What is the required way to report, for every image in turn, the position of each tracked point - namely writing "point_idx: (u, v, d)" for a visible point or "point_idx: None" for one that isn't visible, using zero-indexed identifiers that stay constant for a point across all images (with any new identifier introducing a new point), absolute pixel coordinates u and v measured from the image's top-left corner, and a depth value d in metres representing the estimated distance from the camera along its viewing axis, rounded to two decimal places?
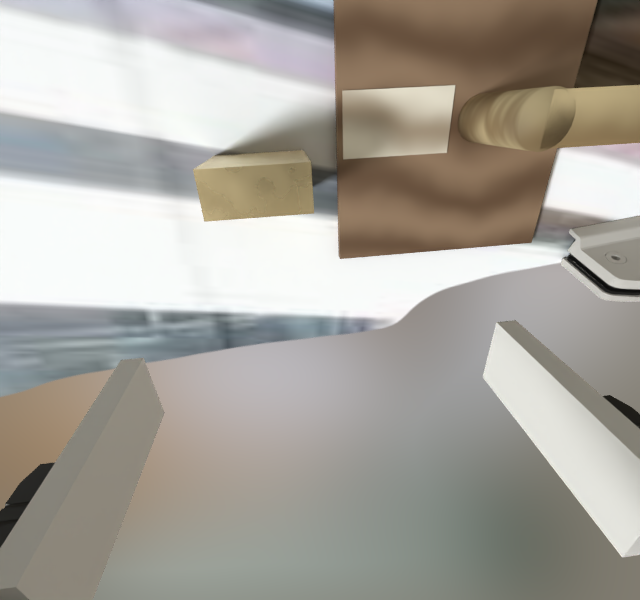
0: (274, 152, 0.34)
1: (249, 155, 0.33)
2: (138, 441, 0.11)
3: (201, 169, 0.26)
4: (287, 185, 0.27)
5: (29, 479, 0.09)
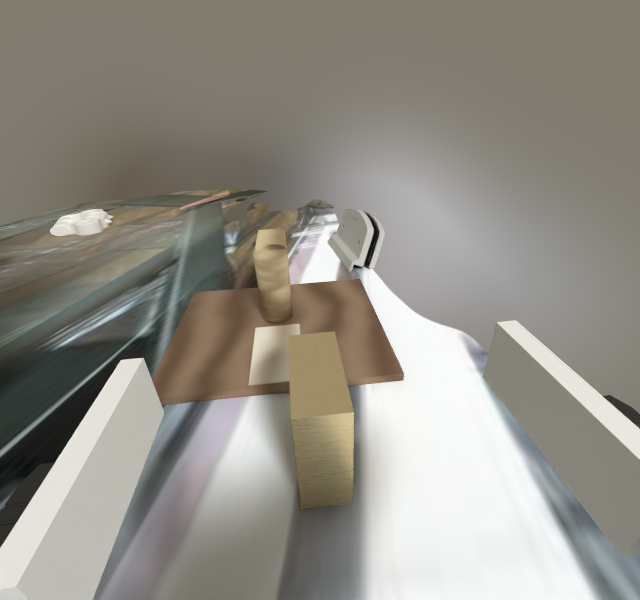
0: None
1: None
2: (138, 441, 0.11)
3: (291, 412, 0.21)
4: (309, 348, 0.27)
5: (29, 479, 0.09)
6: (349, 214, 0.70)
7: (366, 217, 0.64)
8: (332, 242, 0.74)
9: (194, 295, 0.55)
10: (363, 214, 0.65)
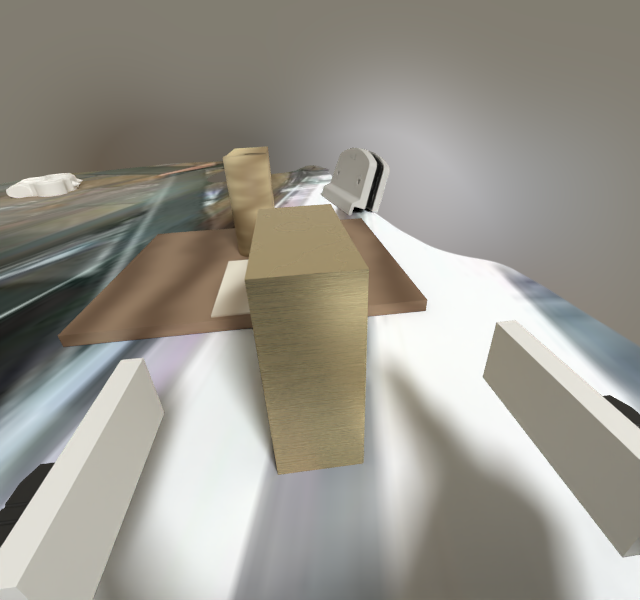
0: None
1: None
2: (138, 441, 0.11)
3: None
4: (289, 216, 0.17)
5: (29, 479, 0.09)
6: (346, 155, 0.60)
7: (367, 152, 0.54)
8: (326, 191, 0.64)
9: (157, 236, 0.45)
10: (363, 150, 0.55)
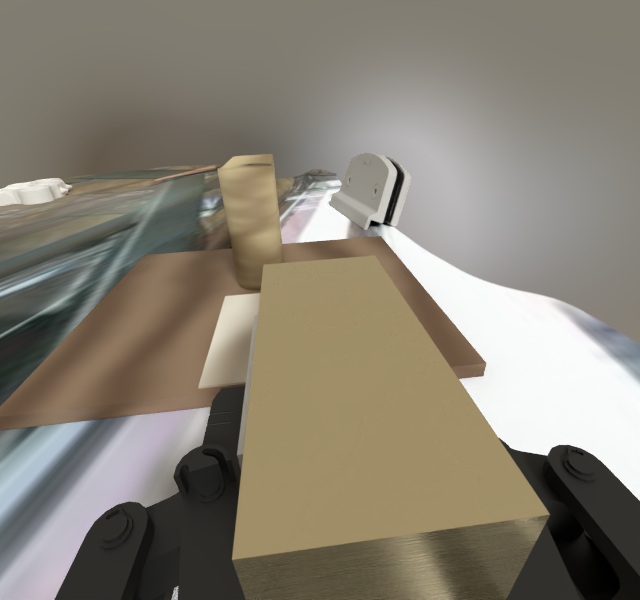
0: None
1: None
2: None
3: (242, 511, 0.05)
4: (315, 285, 0.10)
5: (218, 397, 0.11)
6: (358, 161, 0.54)
7: (384, 158, 0.48)
8: (335, 201, 0.58)
9: (143, 258, 0.38)
10: (379, 155, 0.49)
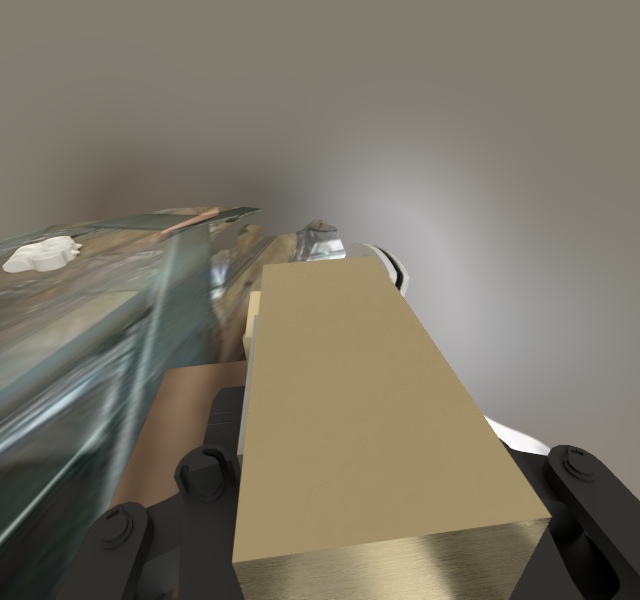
0: None
1: None
2: None
3: (241, 513, 0.05)
4: (315, 286, 0.10)
5: (218, 397, 0.11)
6: (358, 249, 0.58)
7: (384, 256, 0.52)
8: None
9: (167, 374, 0.42)
10: (379, 252, 0.53)
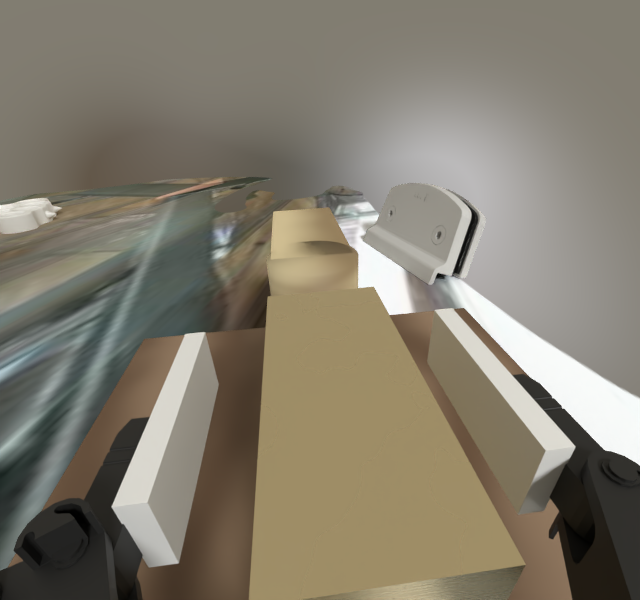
0: None
1: None
2: (205, 405, 0.12)
3: (255, 559, 0.05)
4: (317, 321, 0.11)
5: (125, 430, 0.10)
6: (404, 192, 0.44)
7: (448, 192, 0.38)
8: (373, 238, 0.47)
9: (143, 346, 0.27)
10: (439, 188, 0.39)
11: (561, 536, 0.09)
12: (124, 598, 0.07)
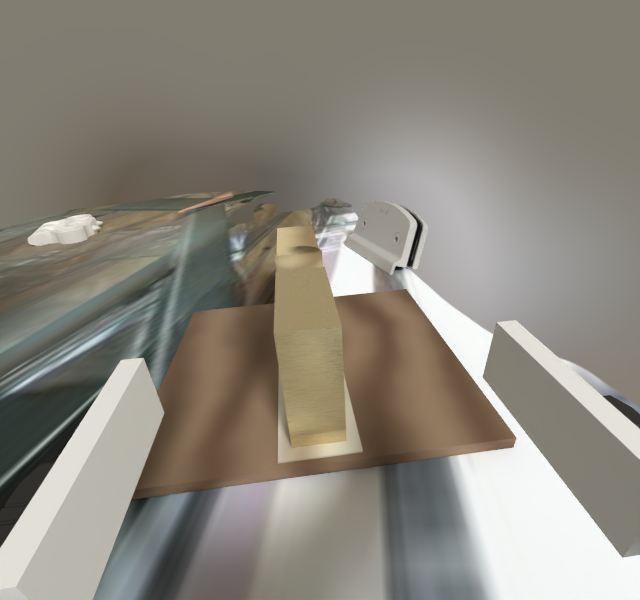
0: None
1: None
2: (138, 441, 0.11)
3: (274, 328, 0.20)
4: (297, 279, 0.26)
5: (29, 479, 0.09)
6: (372, 208, 0.59)
7: (402, 208, 0.53)
8: (352, 242, 0.62)
9: (194, 315, 0.42)
10: (396, 205, 0.54)
11: None
12: None
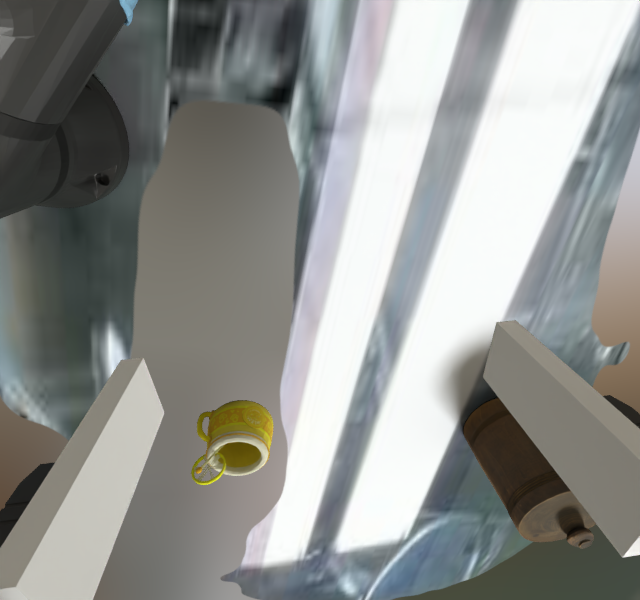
0: None
1: None
2: (138, 441, 0.11)
3: None
4: None
5: (29, 479, 0.09)
6: None
7: None
8: None
9: None
10: None
11: None
12: None
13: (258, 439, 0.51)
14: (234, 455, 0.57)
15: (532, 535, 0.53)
